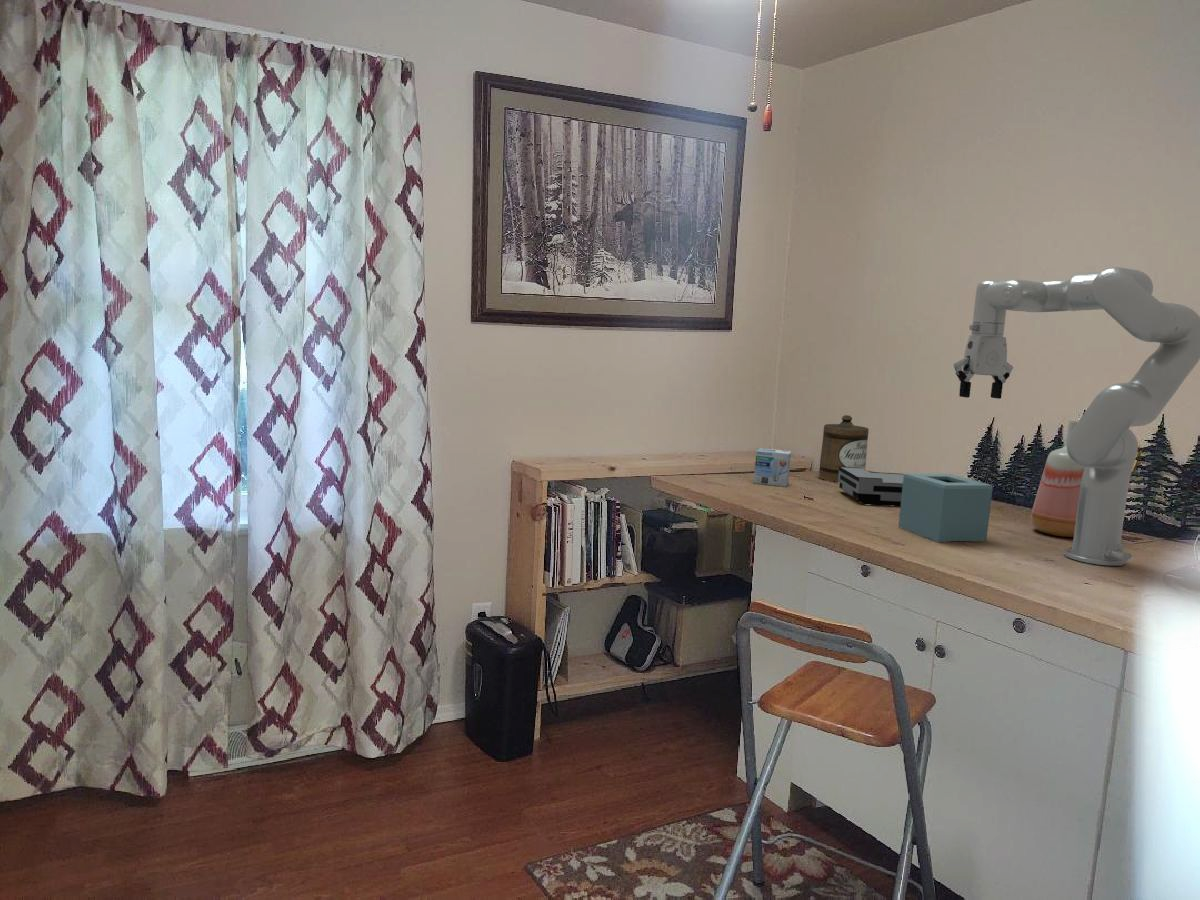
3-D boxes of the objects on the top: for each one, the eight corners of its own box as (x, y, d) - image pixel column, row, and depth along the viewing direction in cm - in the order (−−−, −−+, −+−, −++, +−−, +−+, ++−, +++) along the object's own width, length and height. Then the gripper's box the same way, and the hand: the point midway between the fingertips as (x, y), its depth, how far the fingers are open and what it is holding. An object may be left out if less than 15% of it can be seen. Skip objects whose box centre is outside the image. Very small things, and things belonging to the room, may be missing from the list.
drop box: (986, 541, 220) (992, 485, 218) (938, 542, 216) (944, 485, 214) (944, 526, 235) (949, 473, 233) (898, 527, 231) (903, 473, 229)
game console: (965, 511, 260) (969, 483, 258) (856, 505, 259) (859, 477, 258) (937, 497, 280) (940, 471, 279) (836, 492, 279) (839, 466, 278)
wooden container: (848, 485, 292) (854, 418, 289) (810, 477, 303) (815, 413, 300) (872, 481, 302) (878, 417, 299) (834, 474, 313) (840, 412, 310)
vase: (1057, 526, 243) (1071, 418, 239) (1103, 539, 230) (1119, 425, 225) (1016, 528, 238) (1030, 417, 233) (1062, 541, 224) (1077, 424, 220)
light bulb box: (752, 483, 285) (755, 450, 284) (755, 480, 292) (758, 447, 290) (786, 486, 282) (789, 453, 281) (788, 483, 289) (791, 450, 287)
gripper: (969, 329, 221) (961, 398, 224) (1026, 332, 226) (1018, 400, 229) (949, 328, 228) (942, 395, 231) (1005, 331, 233) (997, 397, 236)
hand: (980, 397), depth 230 cm, fingers open, 9 cm apart
